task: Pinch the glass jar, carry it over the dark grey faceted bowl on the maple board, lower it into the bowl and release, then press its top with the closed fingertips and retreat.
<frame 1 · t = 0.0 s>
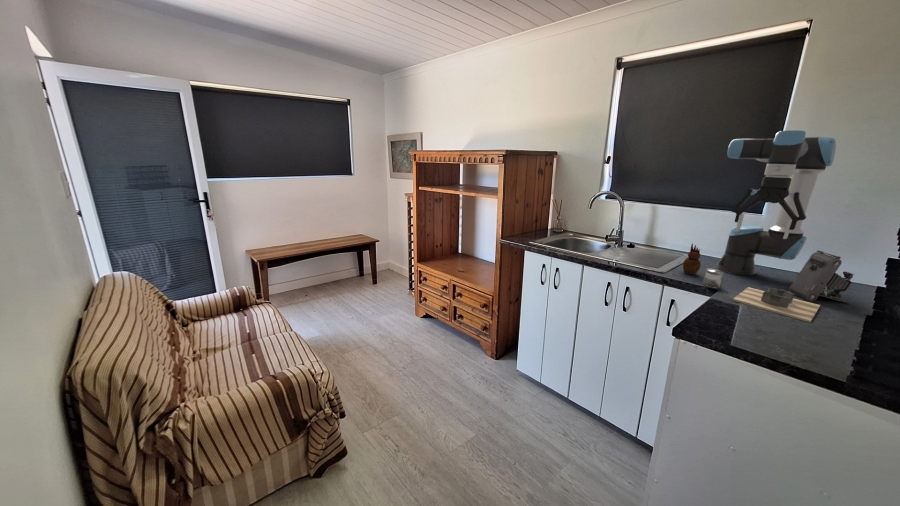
hand: (760, 234, 124), 28 cm above the countertop, fingers open, 13 cm apart
camera: (817, 298, 139), on the countertop
mount board: (775, 303, 132), on the countertop
dark grey faceted bowl: (777, 297, 131), on the mount board, point 3 cm above the countertop
wooden figurine: (689, 273, 166), on the countertop
glass jar: (710, 285, 150), on the countertop
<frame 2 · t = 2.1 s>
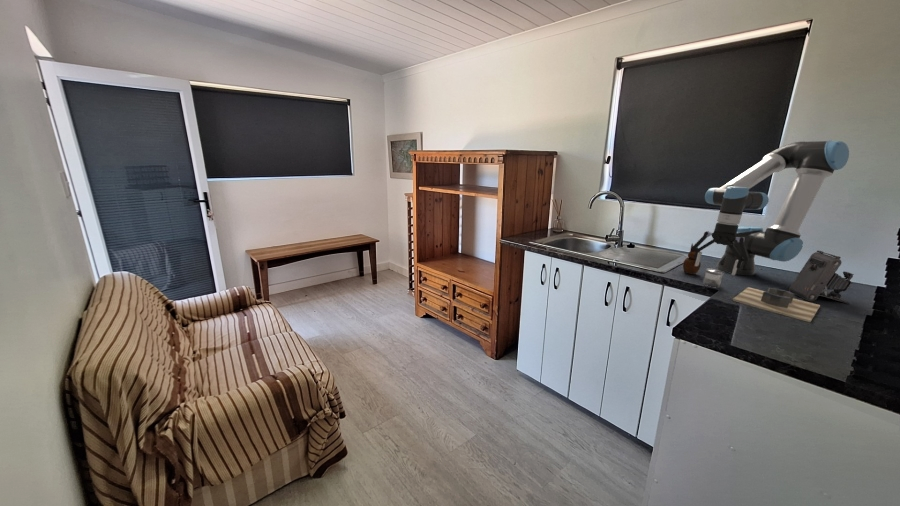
hand: (714, 270, 148), 7 cm above the countertop, fingers open, 13 cm apart
nothing on the countertop moved.
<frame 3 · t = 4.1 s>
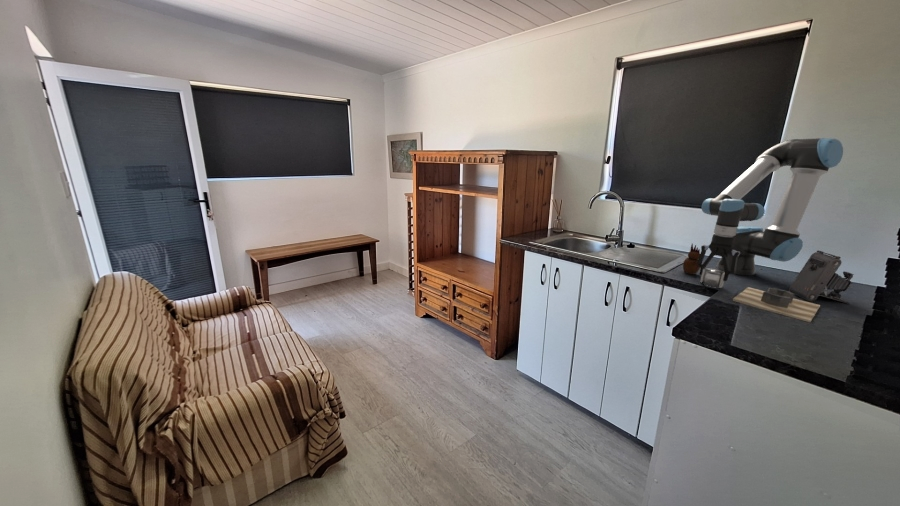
hand: (711, 284, 150), 0 cm above the countertop, fingers closed on glass jar, 6 cm apart
glass jar: (710, 285, 150), on the countertop, touching gripper
everything else where it was.
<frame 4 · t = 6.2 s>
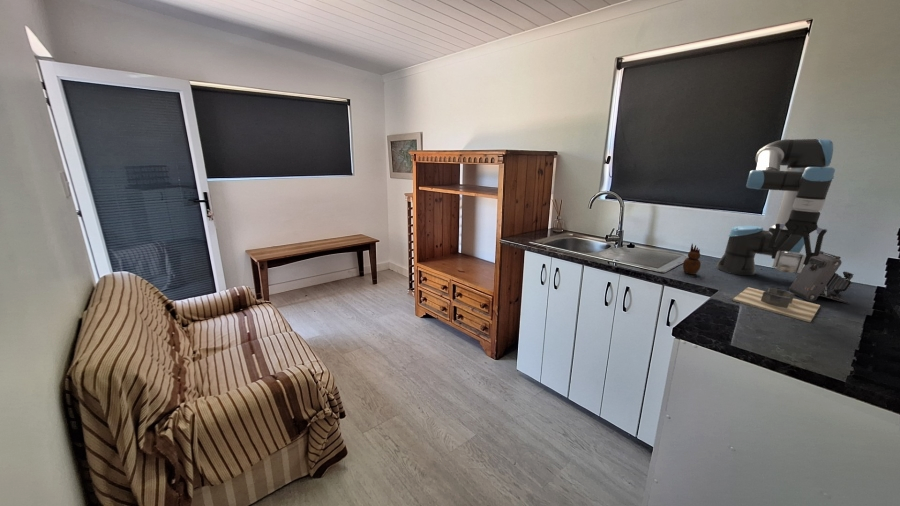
hand: (786, 269, 128), 15 cm above the countertop, fingers closed on glass jar, 6 cm apart
glass jar: (786, 270, 128), point 14 cm above the countertop, touching gripper
everything else where it was.
when the fingers open (2 cm above the countertop, at t = 8.1 s): glass jar stays where it is, resting on mount board.
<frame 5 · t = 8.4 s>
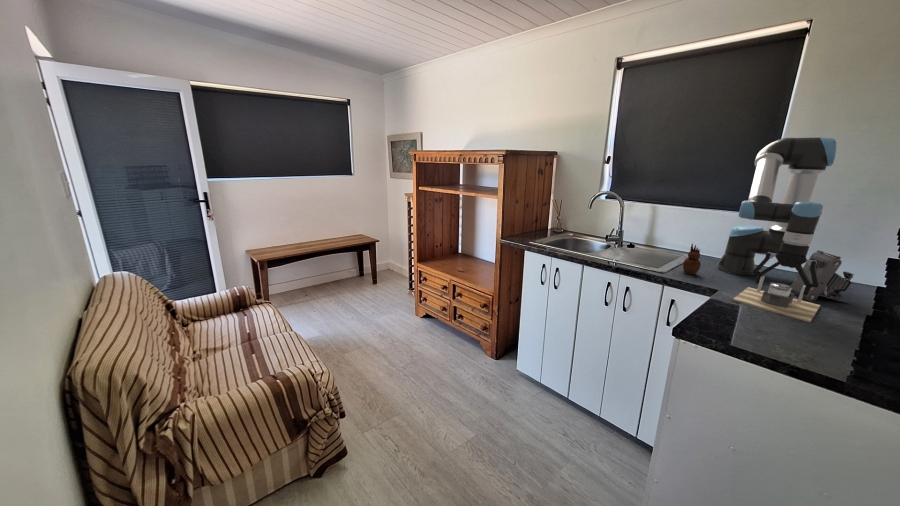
hand: (777, 296, 131), 3 cm above the countertop, fingers open, 11 cm apart
glass jar: (775, 302, 132), point 1 cm above the countertop, touching mount board
everything else where it was.
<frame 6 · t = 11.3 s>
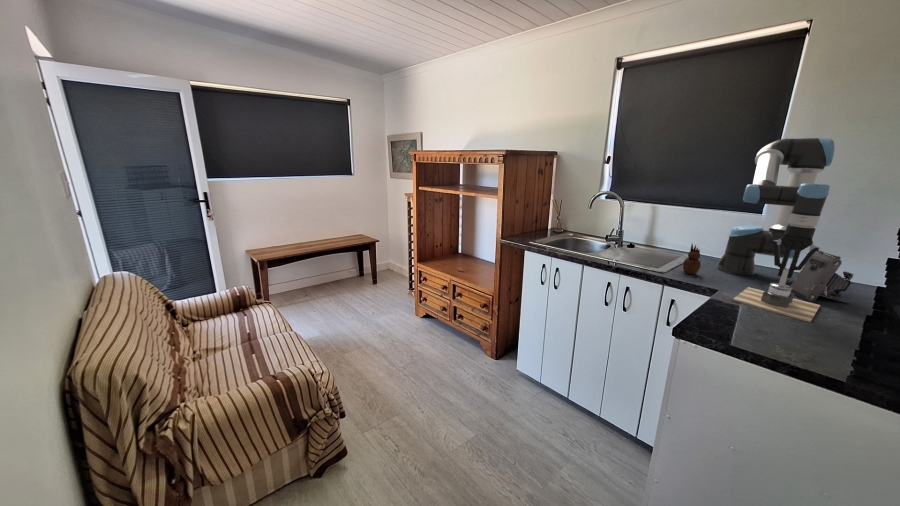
hand: (781, 284, 130), 8 cm above the countertop, fingers closed
nothing on the countertop moved.
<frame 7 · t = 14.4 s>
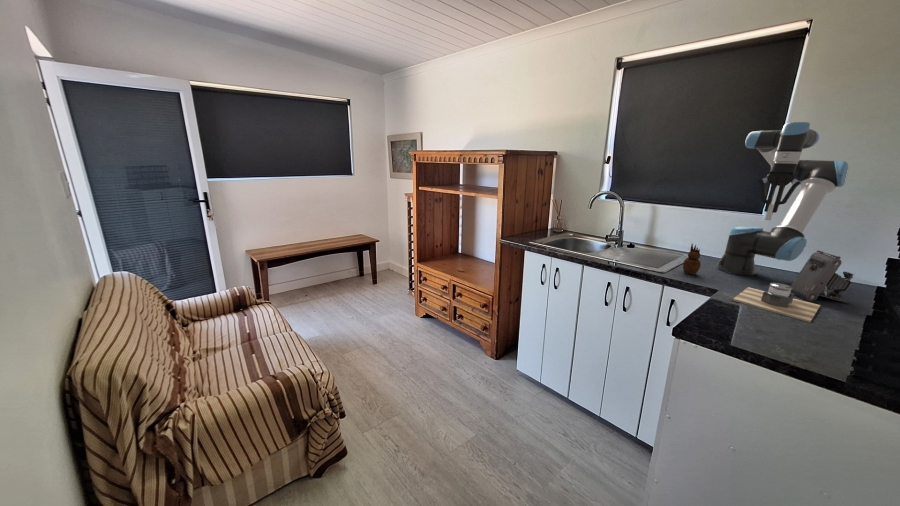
hand: (767, 219, 142), 30 cm above the countertop, fingers closed
nothing on the countertop moved.
at the end: glass jar 0.2 cm off-centre on the dark grey faceted bowl, point 0.8 cm above the dark grey faceted bowl's base; glass jar tilted 0°; the gripper is holding nothing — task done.
